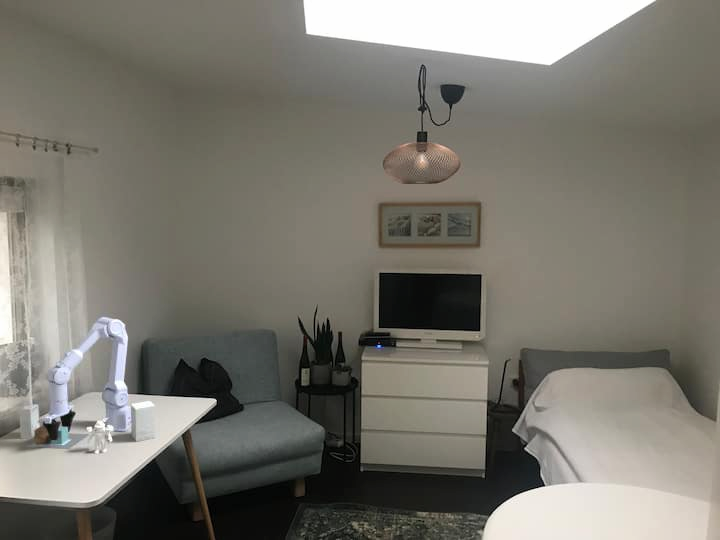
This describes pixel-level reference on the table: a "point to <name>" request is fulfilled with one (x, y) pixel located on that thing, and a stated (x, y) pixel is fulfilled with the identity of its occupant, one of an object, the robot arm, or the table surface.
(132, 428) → the supplement box
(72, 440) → the baseplate
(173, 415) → the table surface
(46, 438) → the walnut blocks
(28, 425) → the skincare box
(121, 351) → the robot arm
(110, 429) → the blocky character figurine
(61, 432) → the teal block
